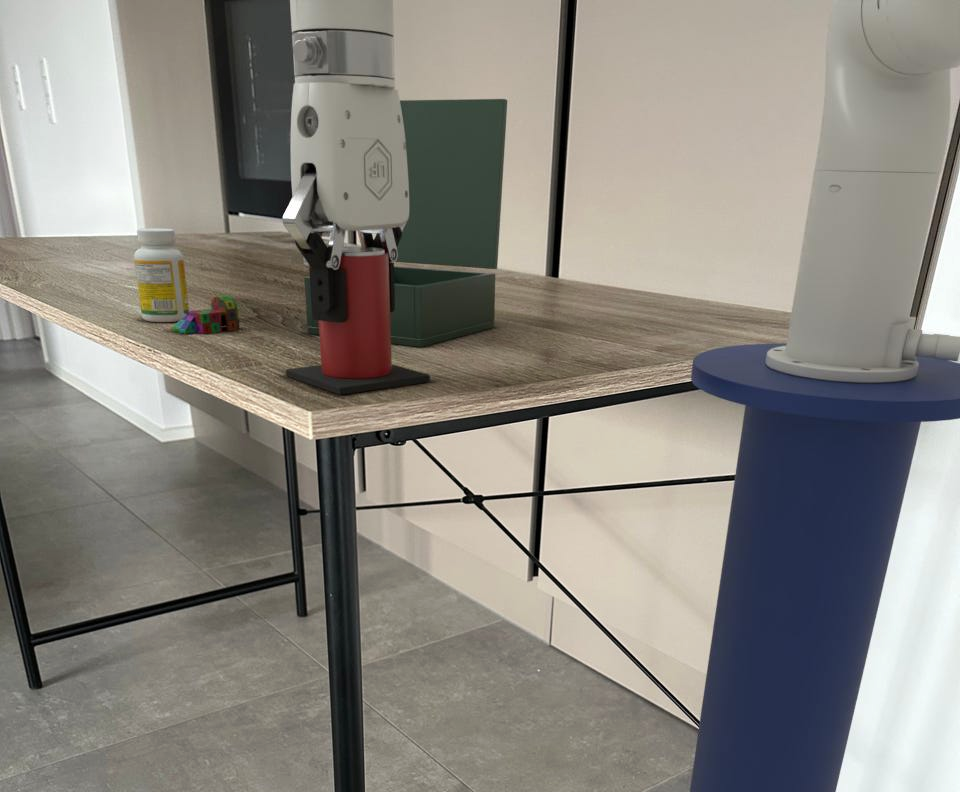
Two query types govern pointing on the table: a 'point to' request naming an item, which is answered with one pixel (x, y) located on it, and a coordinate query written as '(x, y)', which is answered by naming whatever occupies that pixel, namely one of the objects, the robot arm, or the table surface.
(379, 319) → the can
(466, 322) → the bin
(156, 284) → the supplement bottle
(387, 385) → the mat
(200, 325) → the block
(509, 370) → the table surface
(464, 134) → the bin lid
